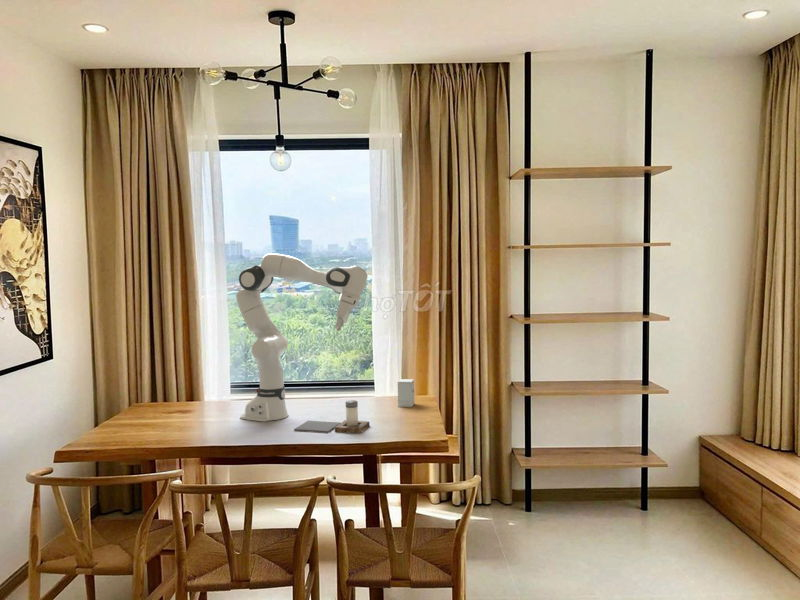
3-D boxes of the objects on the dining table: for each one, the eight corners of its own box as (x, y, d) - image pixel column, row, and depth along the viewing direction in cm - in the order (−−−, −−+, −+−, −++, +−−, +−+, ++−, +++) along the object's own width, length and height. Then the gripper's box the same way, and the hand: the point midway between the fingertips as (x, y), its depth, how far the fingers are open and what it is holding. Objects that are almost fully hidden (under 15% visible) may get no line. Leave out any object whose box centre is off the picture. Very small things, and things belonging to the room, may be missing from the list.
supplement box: (412, 407, 312) (411, 381, 311) (397, 406, 313) (397, 381, 312) (415, 403, 319) (414, 378, 318) (400, 403, 321) (400, 378, 320)
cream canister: (344, 430, 274) (343, 402, 273) (349, 426, 279) (348, 400, 278) (355, 430, 272) (355, 403, 271) (360, 427, 277) (359, 400, 276)
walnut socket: (334, 431, 272) (334, 427, 272) (345, 424, 283) (344, 420, 283) (360, 433, 268) (360, 428, 268) (369, 426, 279) (369, 421, 279)
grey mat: (294, 430, 275) (294, 428, 275) (308, 422, 288) (308, 420, 288) (328, 432, 270) (328, 431, 270) (340, 424, 284) (340, 422, 284)
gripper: (343, 302, 297) (332, 329, 294) (340, 294, 276) (329, 324, 274) (355, 306, 296) (344, 334, 294) (354, 299, 276) (342, 329, 274)
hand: (337, 329), depth 284 cm, fingers open, 8 cm apart
